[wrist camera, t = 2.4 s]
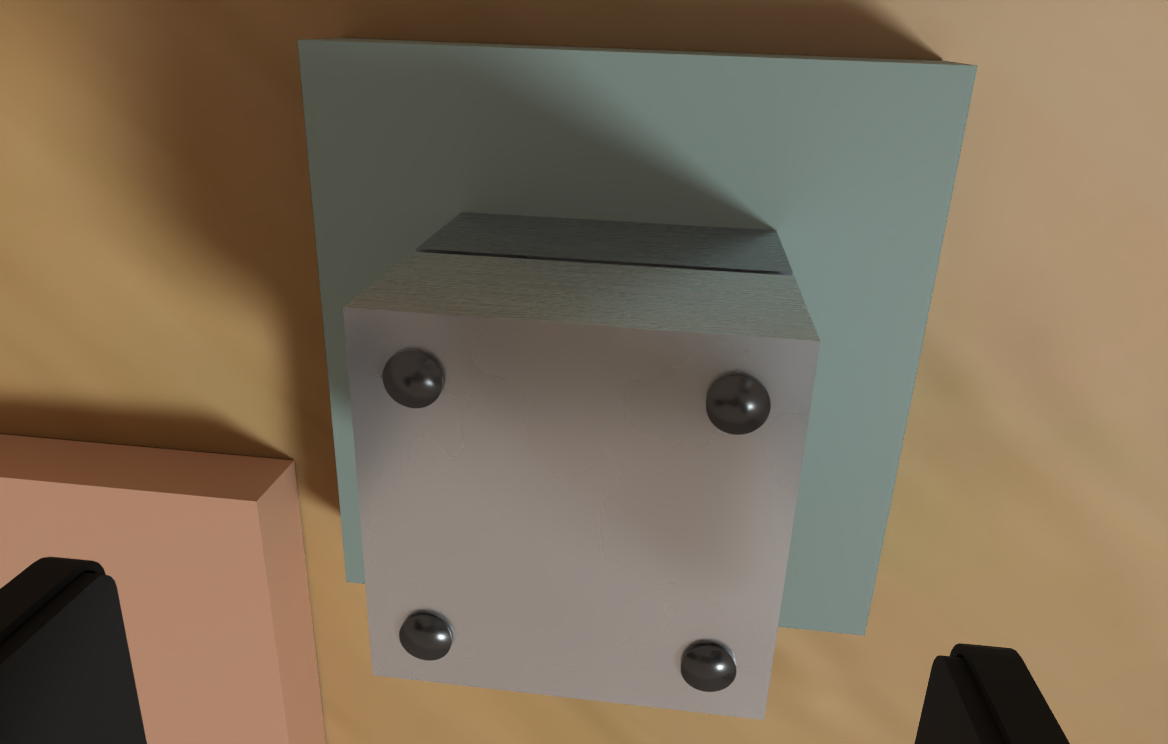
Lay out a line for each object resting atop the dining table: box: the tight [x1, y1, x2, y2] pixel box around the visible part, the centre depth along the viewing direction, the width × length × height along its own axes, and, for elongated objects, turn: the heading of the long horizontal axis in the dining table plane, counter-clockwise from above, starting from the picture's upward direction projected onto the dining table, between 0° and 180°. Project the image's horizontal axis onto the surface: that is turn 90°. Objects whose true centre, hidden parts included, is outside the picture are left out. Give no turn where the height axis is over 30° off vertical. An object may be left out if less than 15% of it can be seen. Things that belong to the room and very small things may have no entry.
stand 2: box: [297, 38, 977, 636], centre depth 18 cm, size 12×12×2 cm
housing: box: [343, 212, 820, 720], centre depth 14 cm, size 6×6×6 cm
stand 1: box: [0, 434, 326, 744], centre depth 23 cm, size 12×12×2 cm
